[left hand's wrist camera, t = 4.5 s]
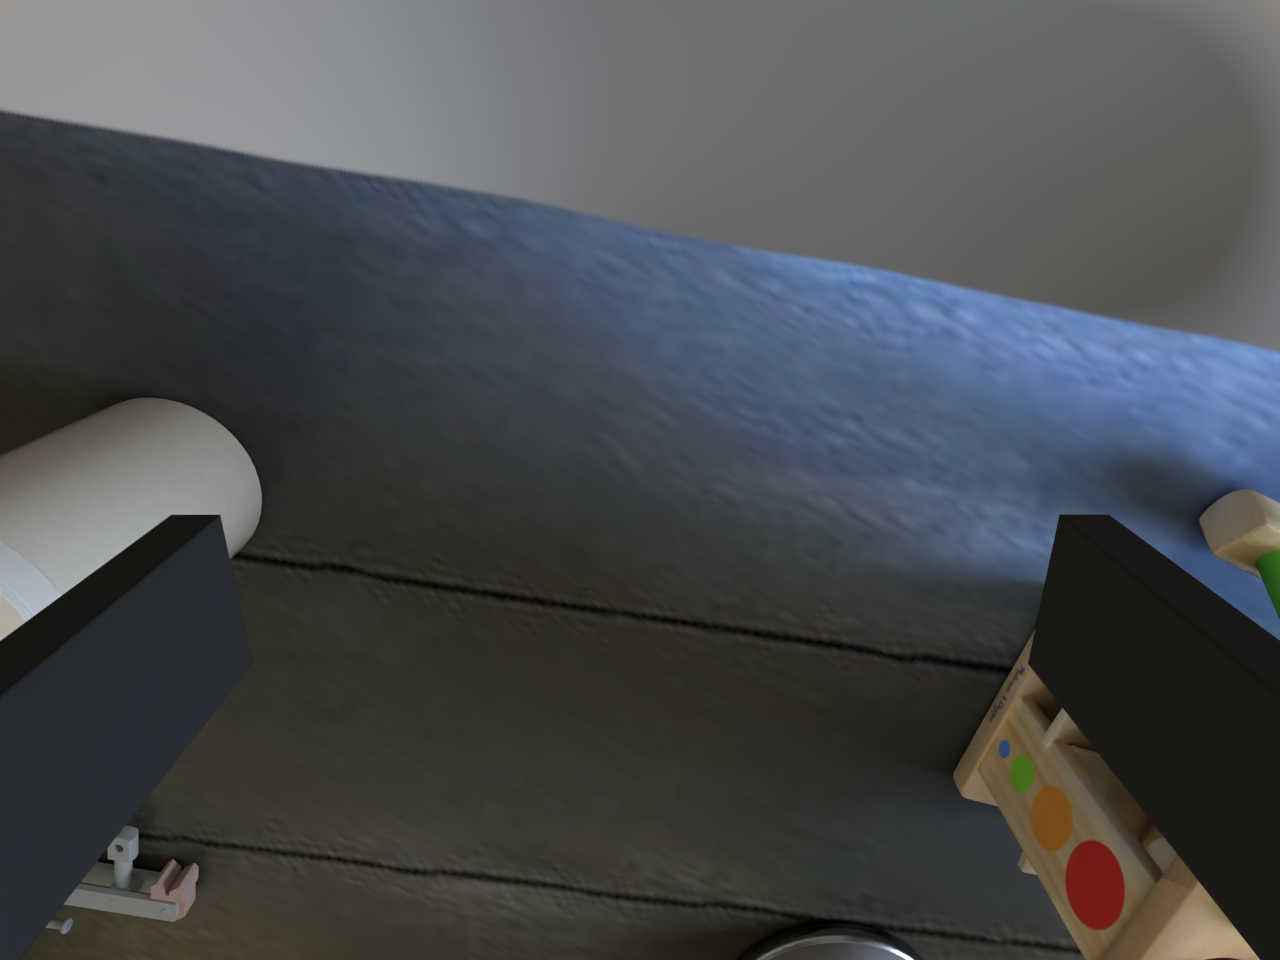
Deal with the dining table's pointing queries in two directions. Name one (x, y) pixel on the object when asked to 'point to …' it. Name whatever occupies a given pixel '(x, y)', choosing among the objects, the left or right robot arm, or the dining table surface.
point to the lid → (21, 590)
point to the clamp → (133, 886)
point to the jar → (122, 485)
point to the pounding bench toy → (1108, 796)
